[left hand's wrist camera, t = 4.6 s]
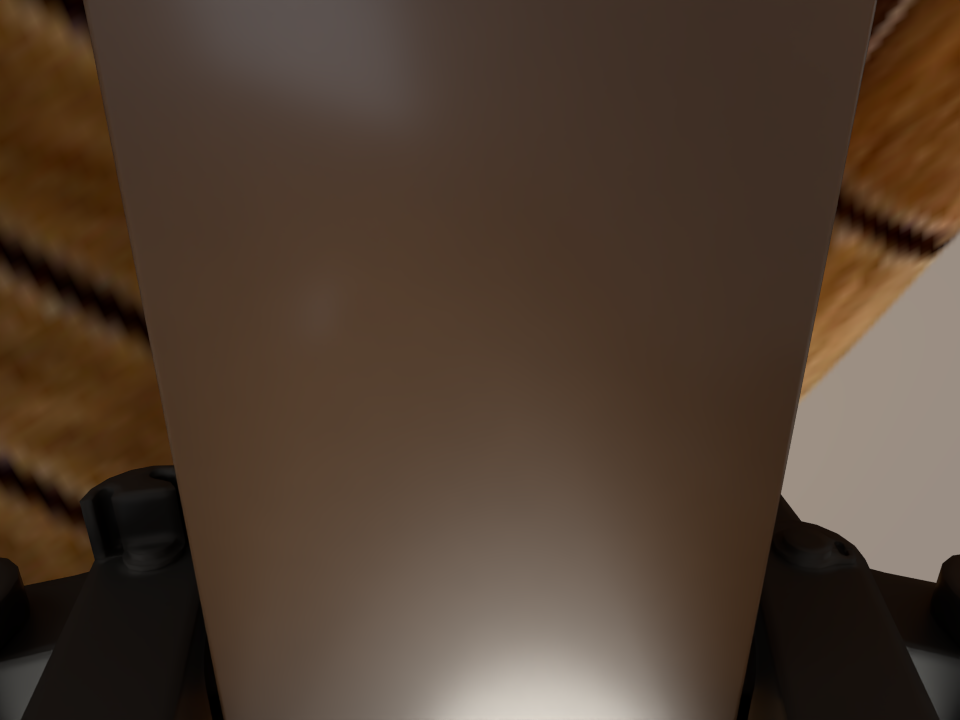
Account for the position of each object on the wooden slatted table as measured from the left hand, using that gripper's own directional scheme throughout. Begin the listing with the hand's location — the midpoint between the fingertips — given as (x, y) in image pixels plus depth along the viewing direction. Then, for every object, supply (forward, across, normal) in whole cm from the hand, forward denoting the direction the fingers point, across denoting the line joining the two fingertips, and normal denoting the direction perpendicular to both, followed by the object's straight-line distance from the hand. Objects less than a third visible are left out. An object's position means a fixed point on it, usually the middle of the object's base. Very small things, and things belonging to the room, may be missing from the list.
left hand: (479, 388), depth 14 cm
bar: (+1, 0, -11) cm, 11 cm away
